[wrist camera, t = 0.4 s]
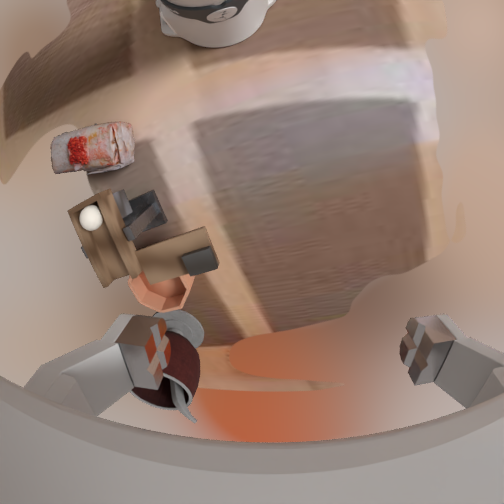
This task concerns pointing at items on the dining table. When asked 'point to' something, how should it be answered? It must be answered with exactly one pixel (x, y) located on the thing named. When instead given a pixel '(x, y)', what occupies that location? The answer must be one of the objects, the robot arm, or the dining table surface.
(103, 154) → the food item
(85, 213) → the ball
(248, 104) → the dining table surface
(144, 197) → the chute stand
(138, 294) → the octagonal bowl
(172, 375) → the mate gourd
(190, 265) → the tipping chute
